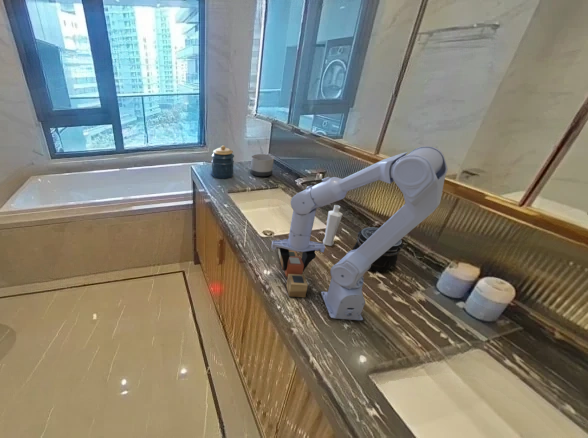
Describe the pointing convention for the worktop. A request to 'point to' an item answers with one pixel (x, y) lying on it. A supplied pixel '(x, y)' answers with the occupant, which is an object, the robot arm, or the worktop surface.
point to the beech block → (291, 253)
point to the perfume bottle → (332, 225)
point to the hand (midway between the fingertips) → (293, 269)
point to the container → (384, 260)
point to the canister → (222, 163)
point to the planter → (262, 165)
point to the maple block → (296, 285)
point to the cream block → (280, 253)
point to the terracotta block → (294, 266)
